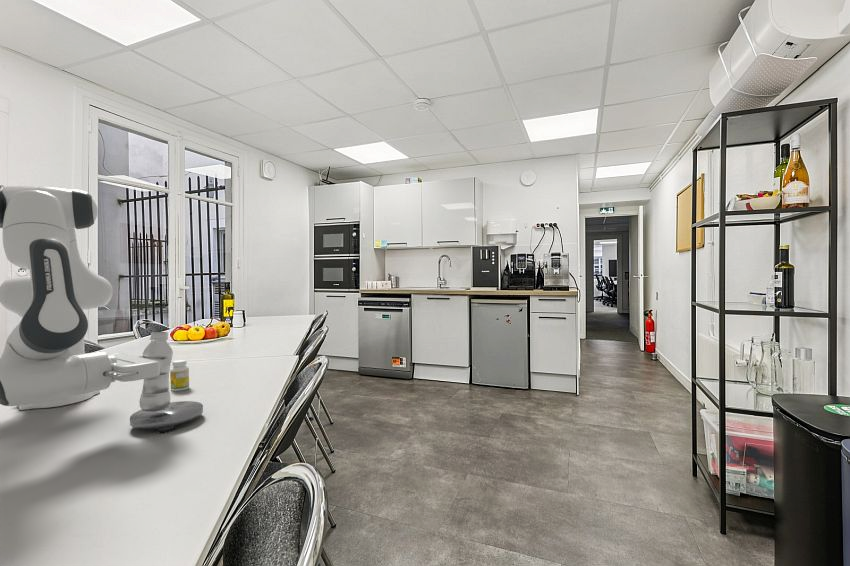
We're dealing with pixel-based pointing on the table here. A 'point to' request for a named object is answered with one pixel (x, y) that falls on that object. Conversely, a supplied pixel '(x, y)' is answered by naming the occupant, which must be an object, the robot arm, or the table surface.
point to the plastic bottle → (157, 387)
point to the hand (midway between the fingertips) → (161, 360)
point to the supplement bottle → (179, 375)
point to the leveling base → (167, 416)
